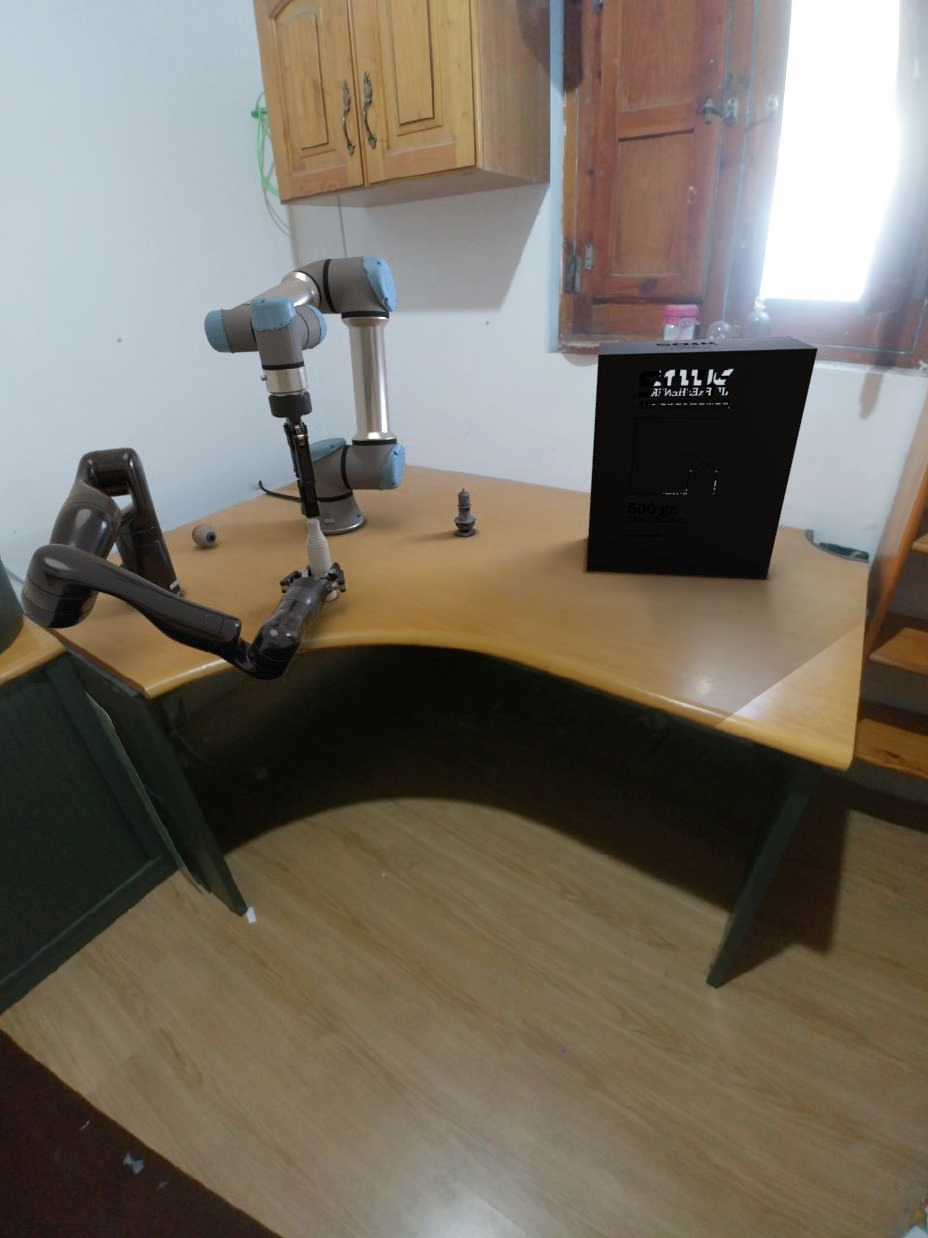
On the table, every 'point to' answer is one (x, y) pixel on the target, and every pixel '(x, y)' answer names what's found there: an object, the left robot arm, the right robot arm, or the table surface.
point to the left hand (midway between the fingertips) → (325, 566)
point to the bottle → (318, 552)
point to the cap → (304, 508)
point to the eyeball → (204, 535)
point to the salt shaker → (464, 515)
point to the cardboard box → (694, 454)
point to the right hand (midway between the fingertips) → (311, 512)
